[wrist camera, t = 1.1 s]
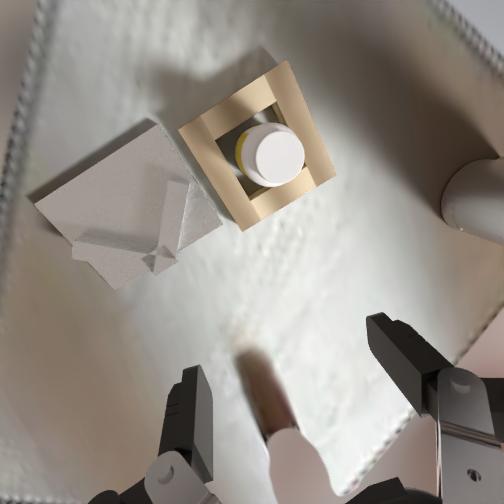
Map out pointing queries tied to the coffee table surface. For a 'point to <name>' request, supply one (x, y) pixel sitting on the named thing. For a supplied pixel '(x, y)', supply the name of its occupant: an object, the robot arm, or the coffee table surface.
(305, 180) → the square frame block
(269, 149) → the supplement bottle
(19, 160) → the coffee table surface
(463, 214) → the robot arm
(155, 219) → the v block
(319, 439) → the coffee table surface
